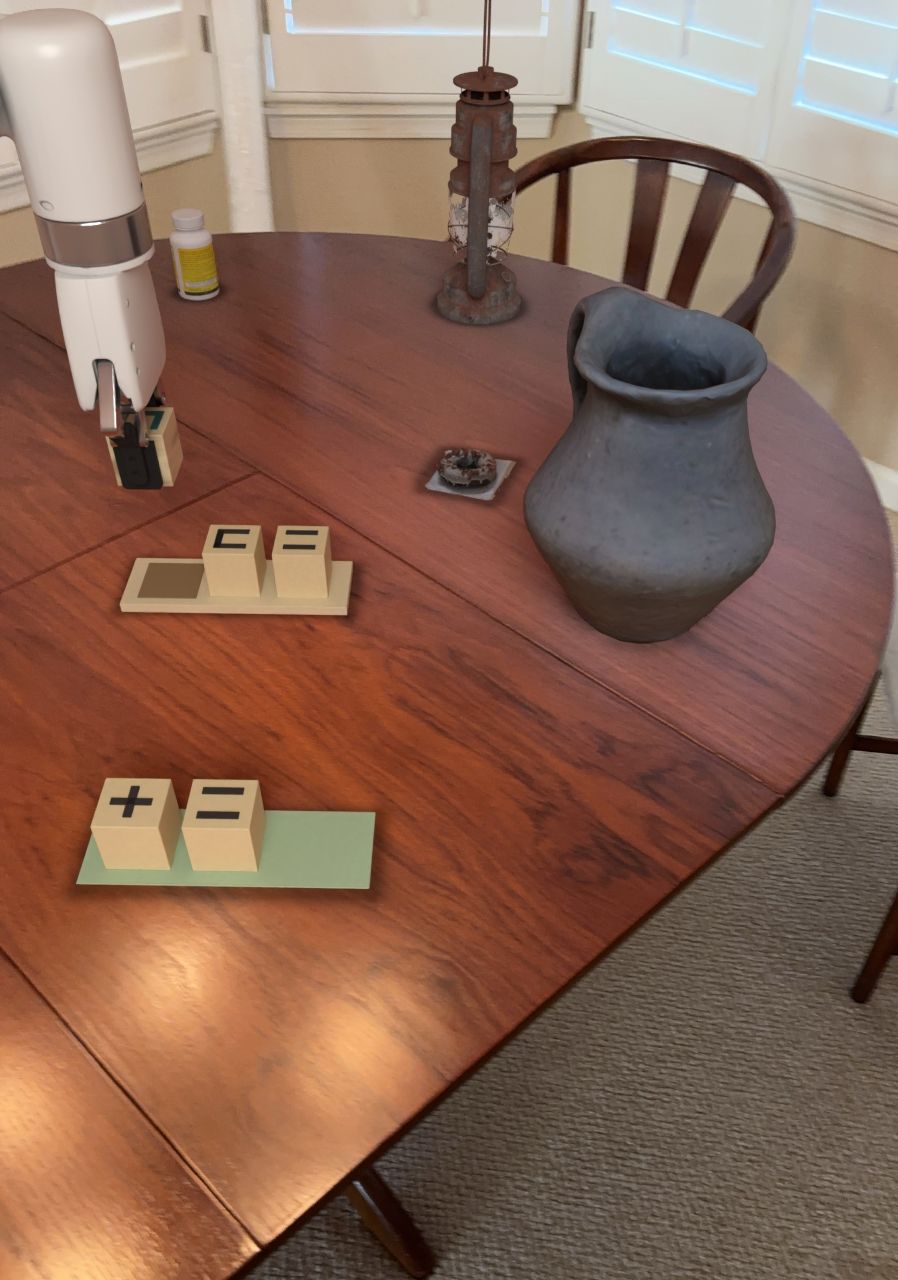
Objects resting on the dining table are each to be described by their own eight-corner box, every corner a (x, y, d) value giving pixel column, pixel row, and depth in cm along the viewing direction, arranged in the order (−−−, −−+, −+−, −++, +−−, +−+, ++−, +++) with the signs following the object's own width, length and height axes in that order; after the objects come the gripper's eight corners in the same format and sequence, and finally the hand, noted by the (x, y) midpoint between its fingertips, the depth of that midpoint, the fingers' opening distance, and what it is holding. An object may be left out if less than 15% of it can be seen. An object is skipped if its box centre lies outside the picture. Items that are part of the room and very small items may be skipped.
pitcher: (610, 714, 85) (658, 424, 67) (465, 577, 97) (472, 301, 79) (796, 630, 92) (885, 349, 74) (639, 513, 105) (682, 248, 86)
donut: (446, 450, 113) (446, 433, 111) (516, 463, 111) (517, 445, 109) (419, 490, 107) (419, 472, 106) (492, 504, 106) (493, 486, 104)
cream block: (117, 486, 85) (104, 433, 82) (130, 457, 88) (117, 405, 85) (173, 486, 85) (162, 434, 82) (183, 458, 88) (173, 405, 85)
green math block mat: (79, 892, 72) (57, 839, 68) (103, 816, 77) (84, 762, 73) (370, 897, 72) (366, 844, 68) (376, 820, 77) (372, 767, 73)
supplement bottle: (228, 293, 140) (217, 213, 132) (195, 305, 137) (182, 224, 130) (203, 282, 142) (191, 202, 135) (170, 293, 140) (156, 213, 132)
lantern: (430, 332, 132) (429, -15, 106) (442, 280, 143) (444, -46, 117) (517, 336, 132) (538, -11, 106) (523, 284, 143) (542, -43, 117)
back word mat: (121, 613, 93) (107, 559, 89) (138, 566, 98) (125, 514, 94) (347, 616, 93) (343, 563, 89) (353, 570, 98) (349, 517, 94)
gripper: (73, 190, 79) (127, 419, 92) (5, 281, 67) (79, 528, 81) (173, 190, 79) (213, 420, 92) (122, 282, 67) (176, 529, 81)
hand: (149, 468), depth 86 cm, fingers closed on cream block, 4 cm apart
